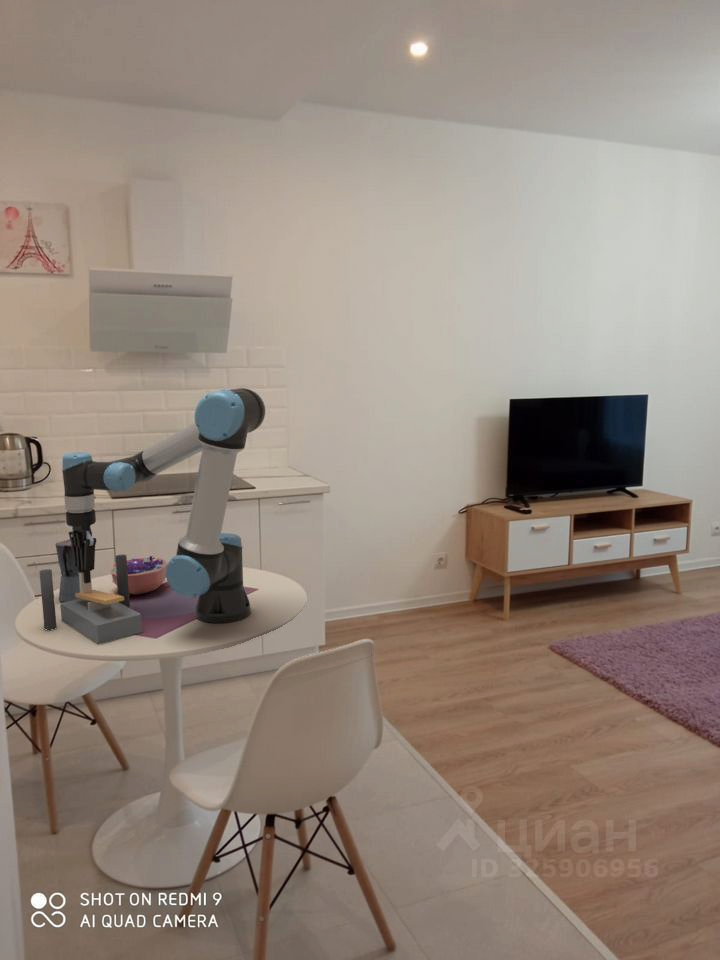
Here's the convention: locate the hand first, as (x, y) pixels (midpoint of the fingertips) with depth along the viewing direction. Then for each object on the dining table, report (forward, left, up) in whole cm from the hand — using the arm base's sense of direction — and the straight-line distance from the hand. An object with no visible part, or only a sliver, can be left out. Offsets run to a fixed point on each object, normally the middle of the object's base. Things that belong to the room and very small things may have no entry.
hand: (86, 593), depth 207 cm
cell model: (+13, -22, -8) cm, 27 cm away
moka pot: (+19, -4, -8) cm, 21 cm away
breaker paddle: (-8, 0, +1) cm, 8 cm away
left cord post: (0, +10, -7) cm, 13 cm away
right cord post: (0, -11, -7) cm, 13 cm away
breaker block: (-8, 0, -7) cm, 11 cm away
